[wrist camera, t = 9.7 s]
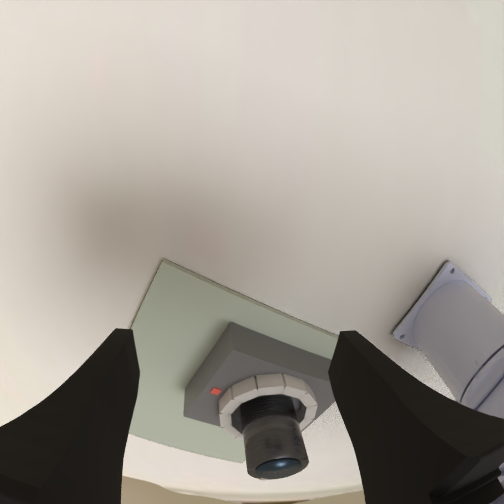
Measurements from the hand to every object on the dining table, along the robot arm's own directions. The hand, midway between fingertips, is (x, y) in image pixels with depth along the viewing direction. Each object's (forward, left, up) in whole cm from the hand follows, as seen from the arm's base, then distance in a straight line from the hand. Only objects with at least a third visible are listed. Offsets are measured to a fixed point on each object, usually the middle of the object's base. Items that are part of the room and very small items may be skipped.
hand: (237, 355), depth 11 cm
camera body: (-8, +9, -10) cm, 16 cm away
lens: (-8, +9, -7) cm, 14 cm away
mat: (-6, +13, -10) cm, 18 cm away
